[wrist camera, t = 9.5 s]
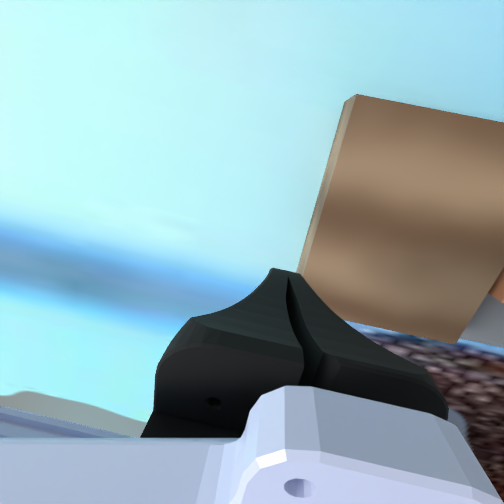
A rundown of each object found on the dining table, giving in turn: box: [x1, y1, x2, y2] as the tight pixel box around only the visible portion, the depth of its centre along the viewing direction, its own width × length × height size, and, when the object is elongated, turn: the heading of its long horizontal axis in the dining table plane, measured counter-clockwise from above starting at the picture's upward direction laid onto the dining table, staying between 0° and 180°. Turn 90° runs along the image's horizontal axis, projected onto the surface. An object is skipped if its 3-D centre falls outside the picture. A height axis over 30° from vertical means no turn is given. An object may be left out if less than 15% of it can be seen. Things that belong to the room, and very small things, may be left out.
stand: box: [296, 94, 504, 344], centre depth 18 cm, size 14×12×3 cm
